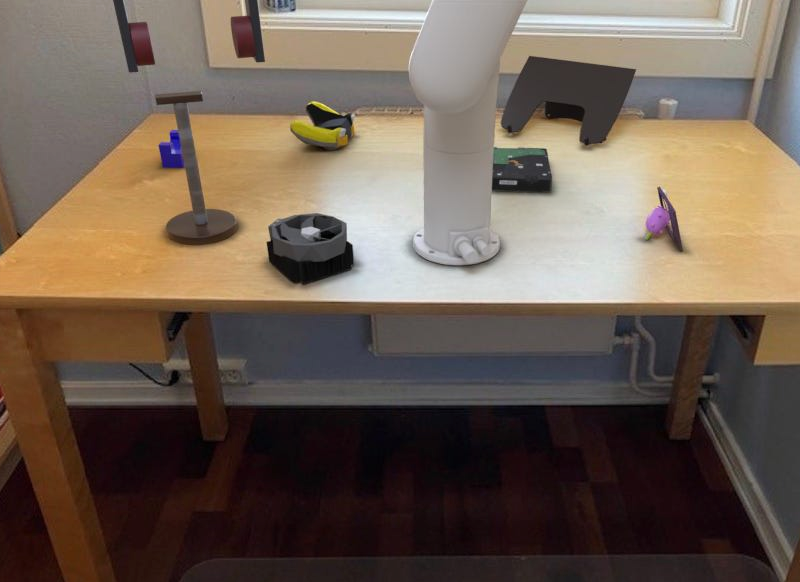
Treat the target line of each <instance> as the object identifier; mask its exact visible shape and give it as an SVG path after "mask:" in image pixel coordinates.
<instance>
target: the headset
mask: <svg viewBox="0 0 800 582" xmlns="http://www.w3.org/2000/svg"><path fill="white" fill-rule="evenodd" d="M112 2H113V6H114V7H113V8H114V11H115V15H116V21H117V24H118V29H119V34H120V38H121V42H122V47H123V53H124V56H125V61H126V65H127V70H128V73H129V74H130V73H139V72H140V70H139V67H143V66H155V65H156V59H155V55H154V48H153V45H152V39H151V33H150V31H149V25H148V21H137V22H129V18H128V13H127V9H126V5H125V0H112ZM244 4H245V13H246V14H245V15H234V16H230V29H231V30H230V31H231V37H232V42H233V47H234V51H235V55H236V58H237V59H248V58H253V60H254V61H255V63H265V62H266V58H265V57H266V56H265V50H264V49H265V48H264V42H263V41H264V40H263V33H262V26H261V25H262V24H261V18H260V10H259V9H260V8H259V0H244Z"/></svg>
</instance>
